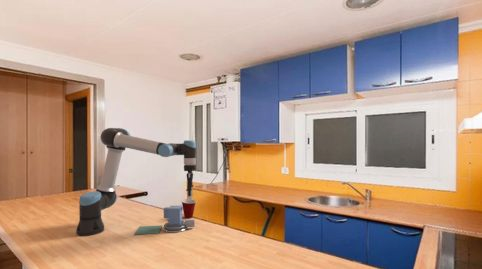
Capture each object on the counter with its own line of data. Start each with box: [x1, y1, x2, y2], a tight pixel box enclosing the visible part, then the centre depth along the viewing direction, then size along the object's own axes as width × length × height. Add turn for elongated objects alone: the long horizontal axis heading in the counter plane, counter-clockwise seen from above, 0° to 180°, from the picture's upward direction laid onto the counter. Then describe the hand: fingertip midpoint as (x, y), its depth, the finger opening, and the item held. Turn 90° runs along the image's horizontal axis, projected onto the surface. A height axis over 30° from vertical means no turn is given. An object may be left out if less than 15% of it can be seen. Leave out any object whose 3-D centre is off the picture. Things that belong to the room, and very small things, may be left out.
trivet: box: [133, 225, 163, 236], centre depth 170 cm, size 14×14×1 cm
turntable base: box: [162, 226, 189, 234], centre depth 173 cm, size 15×15×1 cm
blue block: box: [163, 205, 183, 225], centre depth 173 cm, size 7×12×11 cm, turn 91°
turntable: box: [163, 218, 196, 231], centre depth 173 cm, size 14×19×4 cm
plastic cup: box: [180, 199, 197, 219], centre depth 198 cm, size 11×11×12 cm
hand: (190, 199), depth 176 cm, fingers open, 10 cm apart
